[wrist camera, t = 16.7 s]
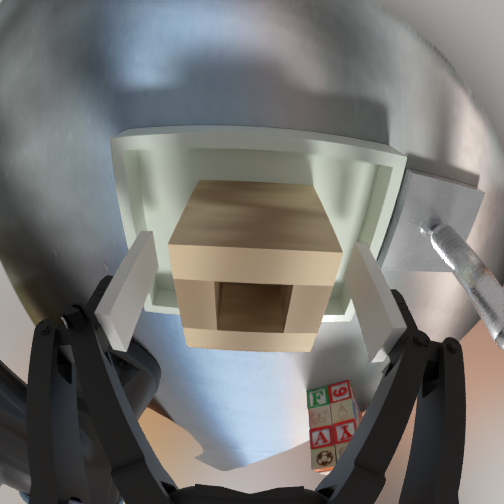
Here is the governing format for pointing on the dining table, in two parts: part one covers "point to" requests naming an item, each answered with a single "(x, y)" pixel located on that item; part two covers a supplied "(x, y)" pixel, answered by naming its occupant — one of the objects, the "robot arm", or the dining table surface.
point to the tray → (256, 170)
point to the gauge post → (442, 241)
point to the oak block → (253, 266)
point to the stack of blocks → (331, 423)
